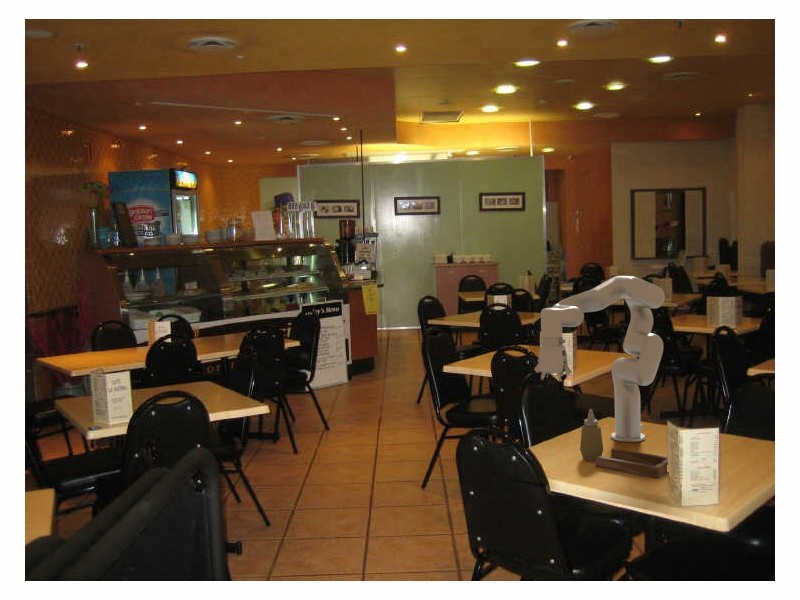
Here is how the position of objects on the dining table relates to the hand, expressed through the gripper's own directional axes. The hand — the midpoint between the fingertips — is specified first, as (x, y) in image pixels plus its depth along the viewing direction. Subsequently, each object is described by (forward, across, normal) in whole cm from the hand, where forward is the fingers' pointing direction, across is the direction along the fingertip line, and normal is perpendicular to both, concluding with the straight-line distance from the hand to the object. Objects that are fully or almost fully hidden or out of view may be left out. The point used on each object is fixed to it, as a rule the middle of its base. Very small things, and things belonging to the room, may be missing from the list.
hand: (553, 390), depth 275 cm
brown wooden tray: (+23, -31, 0) cm, 39 cm away
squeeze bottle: (+24, -15, 0) cm, 28 cm away
